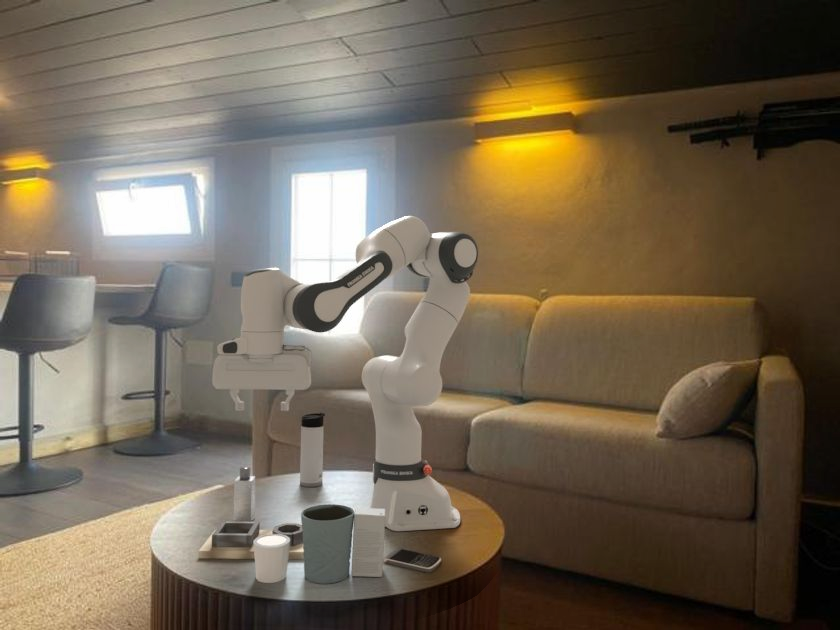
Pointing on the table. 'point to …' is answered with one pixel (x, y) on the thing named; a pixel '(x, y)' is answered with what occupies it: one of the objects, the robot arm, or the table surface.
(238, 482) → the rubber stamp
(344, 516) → the green cylindrical pot
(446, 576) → the table surface
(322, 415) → the travel mug
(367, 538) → the skincare box
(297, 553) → the socket board
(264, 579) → the white cup
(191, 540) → the table surface
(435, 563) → the cell phone
